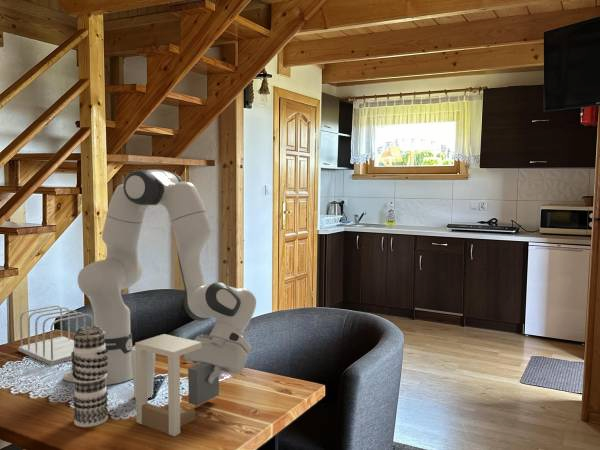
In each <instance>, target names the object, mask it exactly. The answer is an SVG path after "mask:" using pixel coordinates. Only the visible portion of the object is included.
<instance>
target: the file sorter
mask: <svg viewBox="0 0 600 450" xmlns="http://www.w3.org/2000/svg"><path fill="white" fill-rule="evenodd" d="M58 310H59V311H58ZM52 311H55V312H52ZM30 312H32V313H31V314H29V316H28V319H27V344H23V340H24V339H23V316H24V315H25V314H27V313H30ZM46 312H47V313H46ZM48 312H49V313H48ZM40 313H43V314H40ZM63 313H64V314H63ZM65 313H66V314H65ZM35 314H40V315H38V316H37V317H36V319H35V324H34V327H35V329H34V330H35V332H34V335H35V337H34V339H35V342H33V343H31V333H30V332H31V317H32V316H34V315H35ZM57 314H60V315H57ZM50 315H51V316H50ZM52 315H53V316H52ZM54 315H55V316H54ZM74 315H75V316H74ZM45 316H49V317H46V319H45V320H44V321H43V323H42V341H38V322H39V319H40V318H41V317H45ZM88 316H89V317H90V318H91V326H94V316H92V314H90V313H86V314H85V313H83V312H80V311H78V312H77V311H76V310H75V309H69V308H68V307H65V306H63V307H61V306H59V305H56V304H55V305H50V306H44V307H39V308H33V309H28V310H25V311H23V312H21V314H20V316H19V330H20V331H19V332H20V334H19V335H20V346H18V349H17V350H18V352H20V353H22V354H24V355H26V356H29V357H31V358H33V357H34V358H33V359H35V358H36V360H37V359H38V361H40V362H42V361H43V363H44V362H45V364H46V363H47V365H49V366H54V364H55V365H58V364H61V363H60V362H62V363H65V362H64V361H66V362H69V361H71V360H72V358H73V357H71V355H72V354H71V353H72V352H73V351H74V339H71V320H72V319H75V332H76V331H77V330H78V329H79V318H81V317H83V327H85V326H87V325H86V323H87V322H86V321H87V320H86V317H88ZM63 317H65V318H63ZM59 318H60V319H59ZM51 319H57V320H54V321H53V322H52V323H51V324H50V339H45V338H46V335H45V326H46V325H45V324H46V322H47V321H48V320H51ZM67 320H68V321H67ZM63 321H67V331H68V332H67V335H68V336H67V337H66V336H63ZM58 322H60V336H59V337H58V336H57V337H53V335H54V334H53V327H54V325H55V324H56V323H58ZM74 356H75V354H74ZM68 360H69V361H68ZM57 363H58V364H57Z"/></svg>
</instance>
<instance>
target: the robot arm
mask: <svg viewBox="0 0 600 450" xmlns="http://www.w3.org/2000/svg"><path fill="white" fill-rule="evenodd" d="M160 205H161V206H163V207H164V208H165V209H166V210H167V213H168V216H169V220H170V223H171V226H172V230H173V234H174V238H175V244H176V254H177V259H178V265H179V268H180V272H181V273H180V274H181V279H182V282H183V287H184V302H183V305H184V309H185V311H186V314H187V316H189V317H190V318H191V319H193V320H195V321H199V322H200V321H206V320H208V319H210V318H215V319H216V322H215V325H214V326H213V328H212V330H211V331H210V333H209V334H204V333H201V334H200V335H197V336H196V337H195V338H194V339H193V340H194V341H198V342H202V348H200V349H197V350H194V351H192V352H189V353H186V354H183V357H184V359H185V360H186V361H187V362H188V363H190V364H192V365H197V364H200V363H202V362H205V363H209V364H212V365H214V366H215V368H214V370H215V371H214V372H213V373H211V374H210V375H207V378H206V379H205V380H206V381H207V382H208V383H211V384H212V383H213V381H214V379H215V378H216V377H218V376H219V375H220V374H221V373H222V371H223V372H225V373H229V374H235V375H239V374H240V373H242V371H243V370H244V368H245V366H246V363H247V361H248V358H249V354H248V353H250V352H251V350H252V346H251V345H250V344H249V341H247V340H246V339H245V337H243V336H244V331H245V329H246V328H247V327H248V326H249V323H250V322H251V319H252V318H253V315H254V313H255V310H256V308H257V298H256V297H255V295H254V293H253V292H252V291H250V290H248V289H247V288H244V287H232V286H230V285H227V284H226V283H224V282H219V281H217V282H213V283H210V284H205V280H204V279H205V278H204V275H203V272H202V271H203V270H202V267H201V262H200V257H201V252H202V250H203V247H204V246H205V244H206V242H208V240H209V238H210V236H211V222H210V218H209V215H208V212H207V209H206V206H205V203H204V201H203V199H202V197H201V194H200V193H199V191H198V189H197V187H196V186H195V184H193V182H189V181H183V179H182V178H181V177H180V176H179V175H178V174H177V173H175V172H173V171H169V170H164V169H163V170H162V169H158V168H157V169H156V168H155V169H137V170H134V171H131V172H130V173H129V174H128V175H126V177H125V179H124V181H123V183H121V184H119V185H118V186H117V187H116V188H115V189H114V192H113V194H112V196H111V199H110V202H109V205H108V208H107V212H106V217H105V221H104V226H103V230H102V235H101V239H102V242H103V243H104V244H105V245H106V246H105V247H106V257H105V258H104V259H100V260H97V261H92V262H91V263H89V264H87V265H86V266H84V267H83V268H81V269H80V271H79V272H78V275H77V285H78V288H79V290H80V291H81V292H82V293H83V294H84V295H85V296H86V297H87V298H88V299H89V302H90V305H91V308H92V312H93V321H94V326H99V327H101V329H102V330H103V331H105V332H106V333H105V335H104V337H105V341H104V342H105V346H106V349H108V352H107V353H105V354H104V355H105V356H107V357H108V359H107V360H106V362H108V364H107V366H105V369H107V377H106V378H105V382H106V383H105V385H106V386H108V385H115V384H119V383H120V384H121V383H124V382H127V381H130V380H133V374H132V365H131V349H132V347H133V333H132V332H131V309H130V308H129V307H128V305H126V304H125V303H124V300H123V297H122V290H125V289H128V288H130V287H132V286H134V285H135V284H136V283H137V282H138V281H139V280H140V279H141V278H142V276H143V275H142V274H143V267H142V264H141V262H140V260H139V258H138V244H139V239H140V234H141V230H142V226H143V225H142V224H143V221H144V215H145V212H146V209H147V208H148V207H149V206H152V207H153V206H155V207H156V206H160ZM72 366H73V364H72V363H71V370H69V371H67V372H66V373H65V374H64V376H63V380H64V381H67V382H70V383H75V381H74V380H73V375H72V373H73V370H72V368H73V367H72Z"/></svg>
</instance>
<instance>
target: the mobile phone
mask: <svg viewBox="0 0 600 450" xmlns="http://www.w3.org/2000/svg"><path fill="white" fill-rule="evenodd" d="M232 378H233V375H232V374H231V373H229V372H226V371H222V373H221V374H220V375H219V383H220V382H222V381H225V380H226V381H227V380H228V379H229V380H230V379H232Z"/></svg>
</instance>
